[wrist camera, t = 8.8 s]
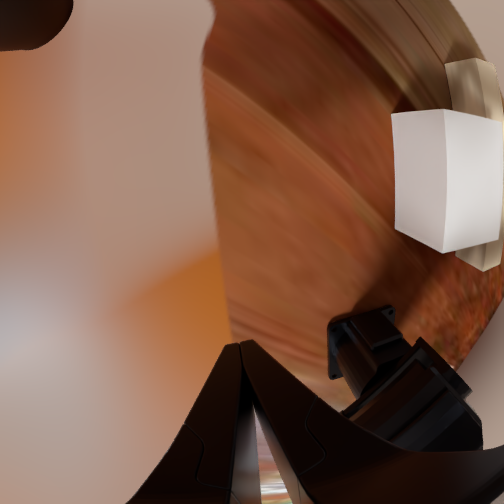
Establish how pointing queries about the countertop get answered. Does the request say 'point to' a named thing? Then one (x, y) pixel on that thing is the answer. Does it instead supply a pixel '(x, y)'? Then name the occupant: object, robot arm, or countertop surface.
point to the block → (448, 178)
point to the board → (488, 106)
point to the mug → (31, 22)
